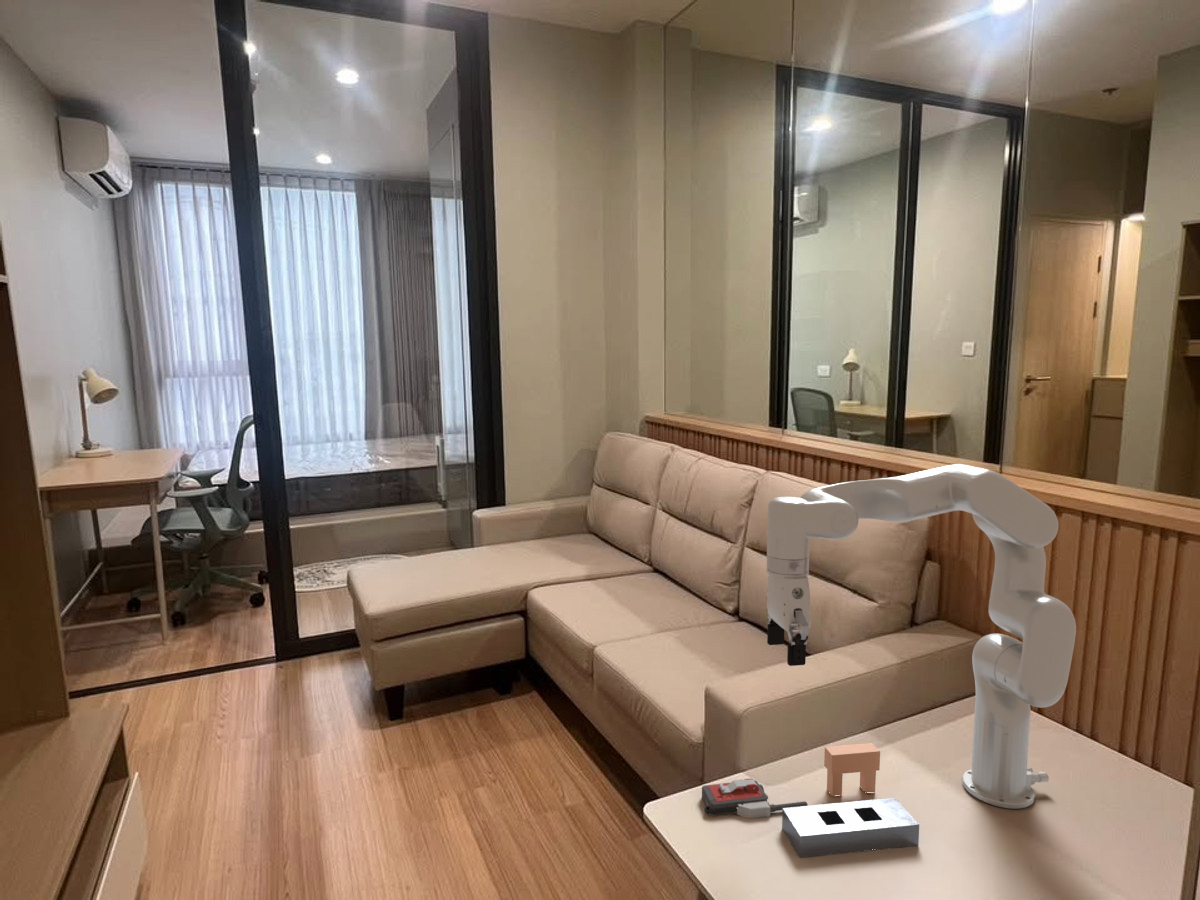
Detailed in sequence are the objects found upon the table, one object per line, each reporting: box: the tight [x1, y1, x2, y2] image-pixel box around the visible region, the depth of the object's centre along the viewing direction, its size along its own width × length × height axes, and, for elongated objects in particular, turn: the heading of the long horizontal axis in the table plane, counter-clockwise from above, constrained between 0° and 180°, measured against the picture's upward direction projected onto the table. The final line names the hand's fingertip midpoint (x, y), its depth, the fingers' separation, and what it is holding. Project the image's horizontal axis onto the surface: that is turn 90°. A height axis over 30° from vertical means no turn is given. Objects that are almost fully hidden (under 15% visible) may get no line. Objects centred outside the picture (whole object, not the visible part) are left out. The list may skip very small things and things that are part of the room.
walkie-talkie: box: [701, 778, 809, 819], centre depth 139 cm, size 9×4×20 cm
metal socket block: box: [781, 797, 920, 859], centre depth 129 cm, size 22×8×4 cm, turn 98°
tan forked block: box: [823, 742, 881, 797], centre depth 142 cm, size 10×3×9 cm, turn 98°
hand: (785, 654), depth 133 cm, fingers open, 9 cm apart
